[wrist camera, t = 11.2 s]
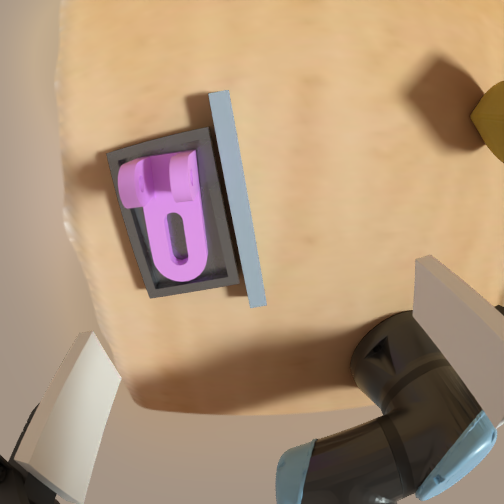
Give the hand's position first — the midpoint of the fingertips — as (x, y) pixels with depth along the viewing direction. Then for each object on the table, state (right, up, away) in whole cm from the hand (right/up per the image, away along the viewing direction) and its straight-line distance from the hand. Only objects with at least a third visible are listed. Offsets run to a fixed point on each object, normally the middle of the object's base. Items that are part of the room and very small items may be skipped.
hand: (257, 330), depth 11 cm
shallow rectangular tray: (-8, +7, +19) cm, 22 cm away
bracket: (-8, +6, +19) cm, 21 cm away
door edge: (-2, +8, +19) cm, 21 cm away
